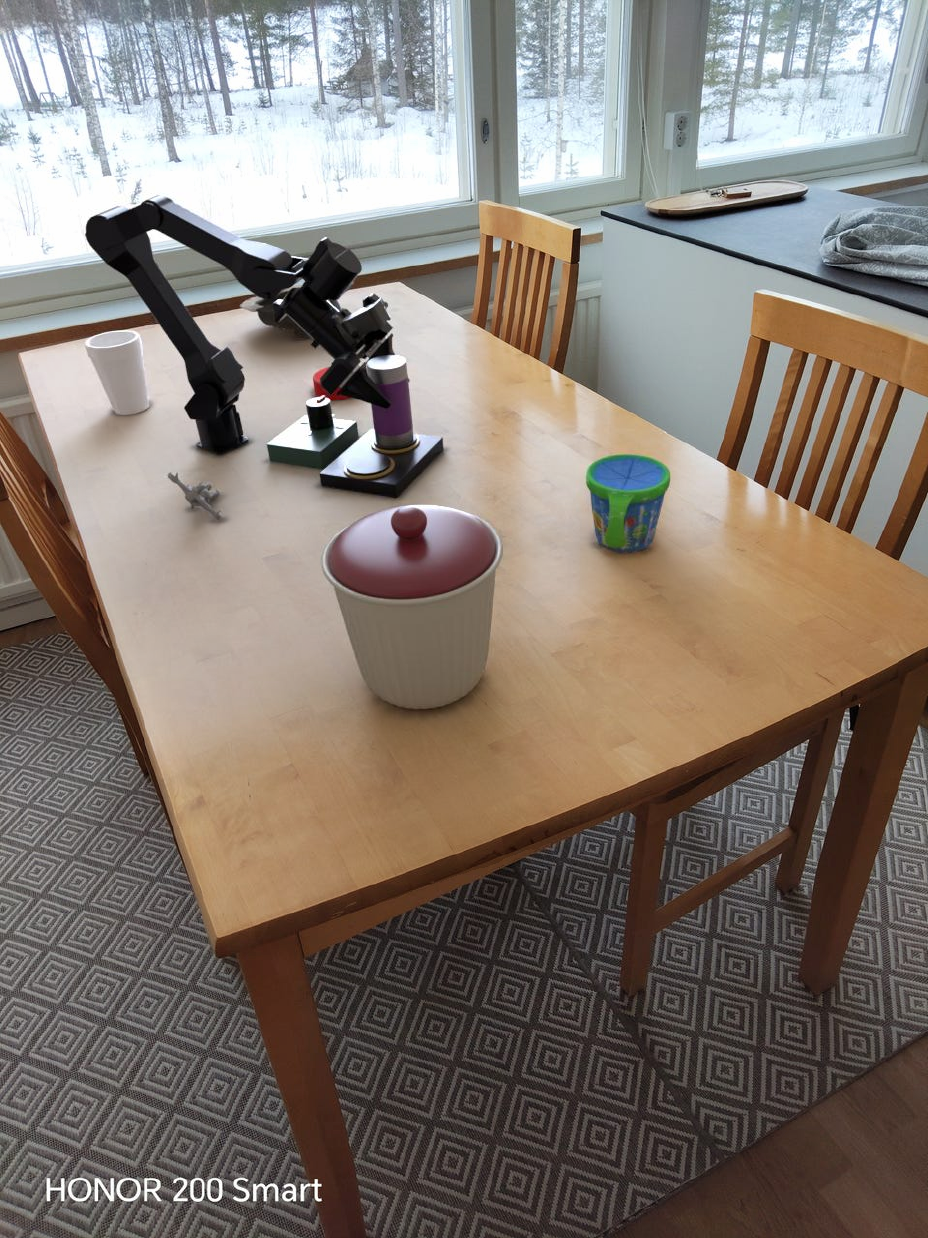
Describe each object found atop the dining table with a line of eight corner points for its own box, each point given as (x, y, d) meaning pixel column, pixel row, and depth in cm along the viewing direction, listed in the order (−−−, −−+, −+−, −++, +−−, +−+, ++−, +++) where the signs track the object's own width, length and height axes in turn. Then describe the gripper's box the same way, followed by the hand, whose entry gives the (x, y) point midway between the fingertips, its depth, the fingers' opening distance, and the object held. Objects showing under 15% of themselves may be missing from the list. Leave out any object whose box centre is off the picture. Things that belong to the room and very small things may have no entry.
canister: (501, 624, 107) (495, 461, 95) (513, 728, 92) (508, 551, 80) (349, 634, 107) (323, 473, 95) (337, 739, 93) (304, 565, 80)
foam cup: (165, 397, 172) (147, 329, 165) (146, 417, 165) (127, 347, 157) (117, 398, 173) (97, 330, 166) (97, 418, 166) (75, 348, 158)
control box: (269, 461, 147) (266, 443, 145) (311, 428, 157) (308, 411, 155) (323, 468, 144) (320, 450, 142) (362, 435, 153) (359, 417, 151)
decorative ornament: (309, 386, 173) (307, 370, 171) (358, 376, 175) (356, 360, 173) (322, 403, 165) (319, 387, 164) (372, 393, 168) (370, 376, 166)
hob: (321, 486, 139) (318, 469, 137) (372, 440, 151) (370, 424, 149) (397, 498, 134) (395, 480, 132) (443, 449, 147) (442, 433, 145)
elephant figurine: (249, 498, 137) (227, 507, 128) (226, 527, 139) (203, 538, 130) (197, 454, 136) (172, 459, 128) (175, 483, 138) (148, 491, 129)
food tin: (387, 450, 141) (378, 372, 134) (368, 437, 145) (358, 361, 138) (421, 439, 144) (413, 362, 136) (401, 427, 148) (393, 351, 140)
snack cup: (647, 578, 113) (653, 506, 107) (567, 563, 117) (568, 493, 111) (677, 519, 125) (684, 451, 119) (603, 507, 128) (606, 440, 122)
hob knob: (326, 430, 148) (322, 405, 145) (304, 428, 149) (300, 403, 147) (338, 421, 151) (334, 396, 148) (317, 418, 152) (313, 394, 150)
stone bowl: (339, 344, 190) (329, 299, 185) (230, 351, 196) (218, 309, 191) (371, 305, 209) (363, 264, 204) (272, 313, 215) (261, 273, 210)
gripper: (328, 302, 124) (413, 383, 128) (373, 264, 138) (448, 338, 142) (285, 356, 130) (367, 432, 134) (332, 315, 145) (405, 384, 149)
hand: (398, 394), depth 140 cm, fingers open, 9 cm apart
